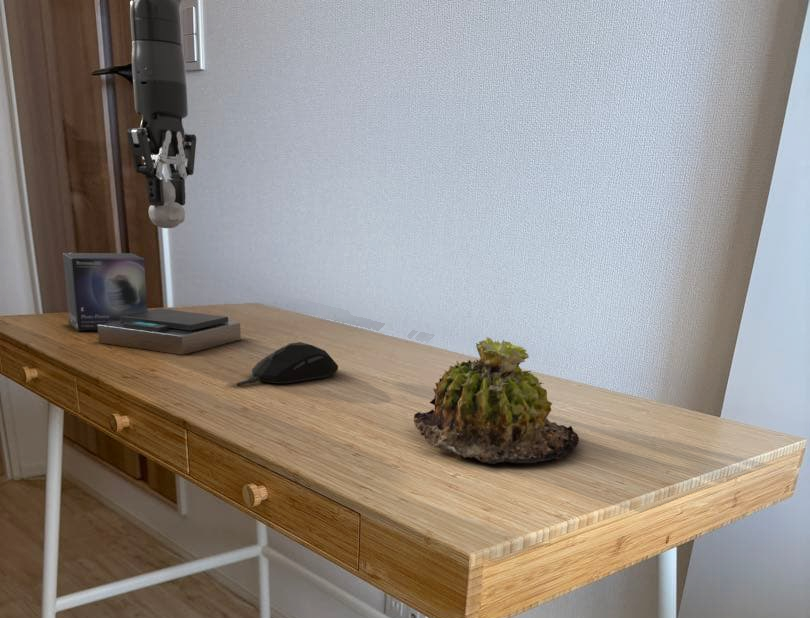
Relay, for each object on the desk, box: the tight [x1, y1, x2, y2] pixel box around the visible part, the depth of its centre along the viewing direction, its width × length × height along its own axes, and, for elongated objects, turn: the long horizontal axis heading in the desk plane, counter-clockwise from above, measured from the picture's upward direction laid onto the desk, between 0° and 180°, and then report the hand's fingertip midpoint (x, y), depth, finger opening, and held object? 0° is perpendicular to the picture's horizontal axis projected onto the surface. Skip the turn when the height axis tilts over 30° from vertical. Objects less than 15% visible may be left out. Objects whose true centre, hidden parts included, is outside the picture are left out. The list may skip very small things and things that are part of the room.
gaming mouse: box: [236, 341, 339, 387], centre depth 100 cm, size 6×15×4 cm, turn 138°
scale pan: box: [120, 308, 229, 331], centre depth 118 cm, size 12×9×1 cm
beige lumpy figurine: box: [148, 172, 186, 229], centre depth 128 cm, size 5×7×8 cm
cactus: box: [413, 336, 580, 465], centre depth 79 cm, size 17×16×10 cm
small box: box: [62, 252, 148, 332], centre depth 124 cm, size 11×6×10 cm, turn 122°
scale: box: [97, 320, 242, 356], centre depth 118 cm, size 14×14×3 cm
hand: (167, 204), depth 128 cm, fingers closed on beige lumpy figurine, 4 cm apart
